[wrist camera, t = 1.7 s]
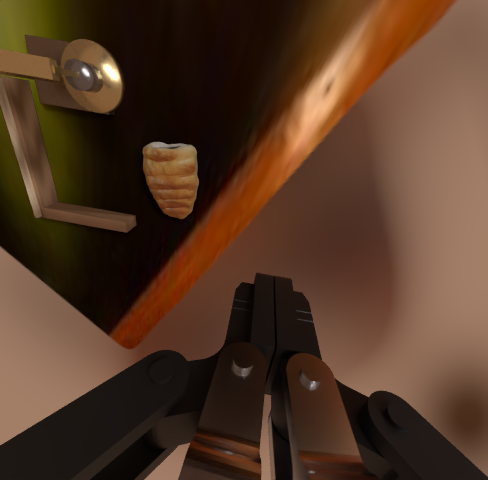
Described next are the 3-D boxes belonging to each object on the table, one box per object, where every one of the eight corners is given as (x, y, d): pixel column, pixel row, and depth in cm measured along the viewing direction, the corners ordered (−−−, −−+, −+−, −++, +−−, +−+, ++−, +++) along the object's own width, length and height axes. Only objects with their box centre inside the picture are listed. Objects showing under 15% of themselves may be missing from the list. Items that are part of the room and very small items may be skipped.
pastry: (205, 214, 32) (197, 226, 29) (158, 213, 33) (145, 224, 29) (198, 141, 28) (188, 144, 24) (144, 141, 28) (127, 144, 25)
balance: (4, 96, 27) (-227, 76, 14) (-16, 29, 24) (-325, -67, 12) (159, 122, 27) (61, 125, 14) (157, 58, 24) (33, -9, 11)
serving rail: (15, 78, 26) (-14, 73, 23) (125, 97, 26) (108, 94, 23) (50, 209, 34) (31, 218, 31) (136, 225, 34) (124, 234, 31)
